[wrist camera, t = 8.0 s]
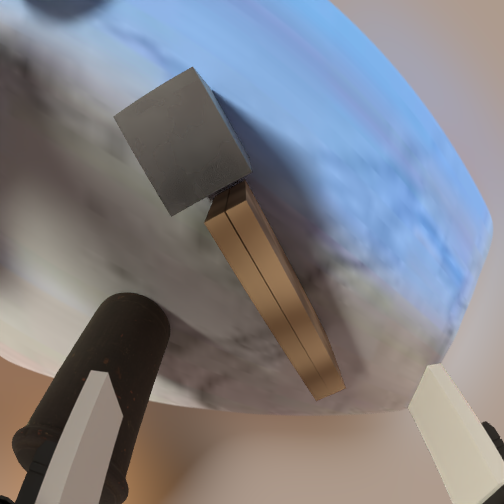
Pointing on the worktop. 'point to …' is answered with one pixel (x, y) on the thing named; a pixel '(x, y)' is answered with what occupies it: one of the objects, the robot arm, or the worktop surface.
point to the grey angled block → (183, 141)
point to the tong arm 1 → (261, 293)
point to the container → (121, 375)
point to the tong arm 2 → (282, 282)
